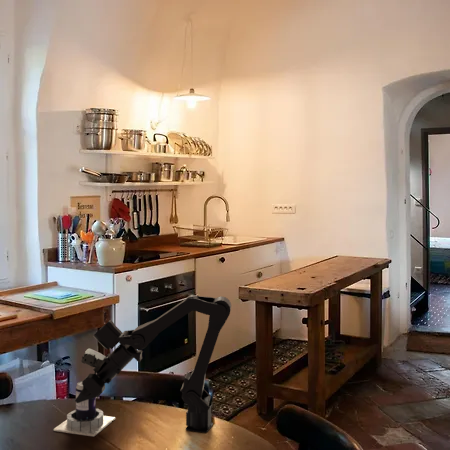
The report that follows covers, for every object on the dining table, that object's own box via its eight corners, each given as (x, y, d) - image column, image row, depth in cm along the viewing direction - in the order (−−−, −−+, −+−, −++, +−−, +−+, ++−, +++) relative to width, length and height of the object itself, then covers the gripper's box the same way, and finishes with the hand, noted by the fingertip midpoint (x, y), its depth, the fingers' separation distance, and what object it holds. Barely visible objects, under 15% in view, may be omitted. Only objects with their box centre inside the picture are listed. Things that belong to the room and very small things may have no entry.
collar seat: (115, 419, 177) (115, 409, 177) (94, 436, 165) (93, 425, 165) (77, 414, 181) (77, 404, 181) (53, 430, 169) (53, 420, 168)
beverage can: (97, 425, 171) (97, 384, 171) (77, 427, 169) (77, 387, 168) (93, 418, 177) (93, 379, 176) (74, 420, 174) (74, 381, 174)
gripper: (106, 332, 180) (71, 367, 182) (89, 349, 162) (50, 387, 163) (131, 358, 181) (96, 392, 182) (117, 378, 162) (78, 415, 163)
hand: (81, 396), depth 173 cm, fingers open, 9 cm apart
